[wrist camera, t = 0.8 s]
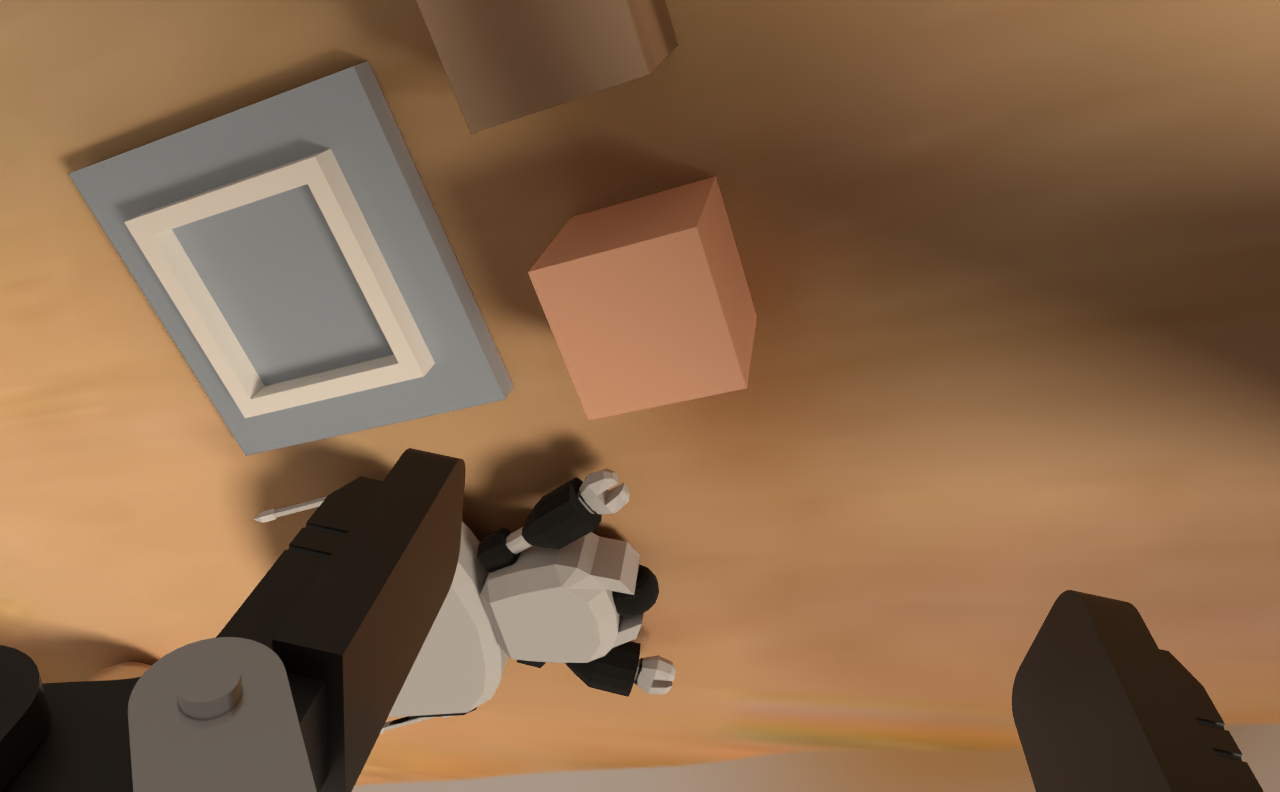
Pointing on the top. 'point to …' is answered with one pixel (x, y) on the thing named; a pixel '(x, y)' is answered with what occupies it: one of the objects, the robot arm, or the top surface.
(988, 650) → the top surface
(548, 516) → the robot toy
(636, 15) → the walnut cube
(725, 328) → the terracotta cube
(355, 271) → the baseplate
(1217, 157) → the top surface
